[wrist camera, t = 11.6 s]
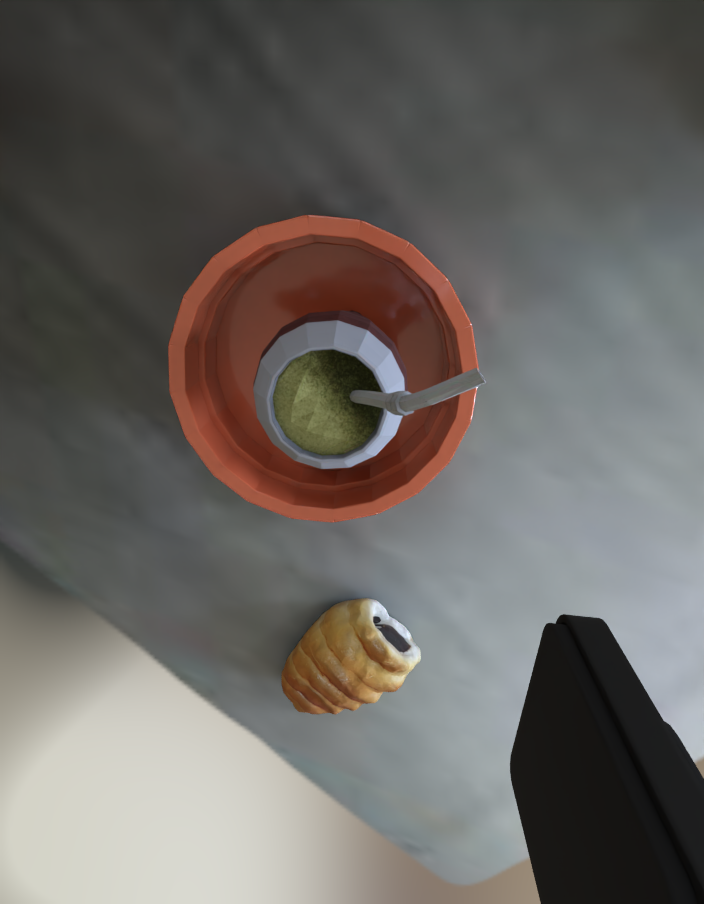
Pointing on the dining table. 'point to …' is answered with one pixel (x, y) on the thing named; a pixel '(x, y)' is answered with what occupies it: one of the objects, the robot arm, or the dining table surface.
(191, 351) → the terracotta bowl
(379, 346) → the mate gourd
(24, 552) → the dining table surface
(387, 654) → the pastry
